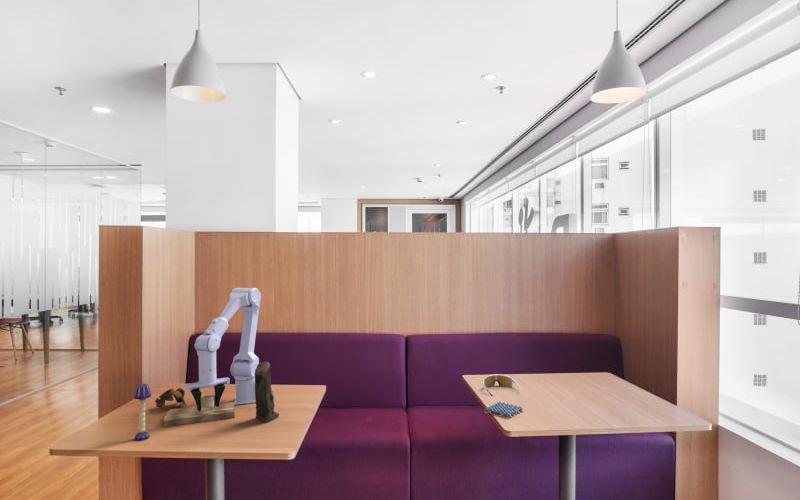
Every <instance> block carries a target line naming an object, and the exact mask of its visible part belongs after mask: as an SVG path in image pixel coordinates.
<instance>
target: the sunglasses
mask: <svg viewBox="0 0 800 500" xmlns="http://www.w3.org/2000/svg"><path fill="white" fill-rule="evenodd" d="M496 382H497V383H498V385H499V386H500V387H508V388H509V387H510V388H512V387H513V384H515V385H516V386H517V387H518V395H517V396H520V392H521V387H520V385H519V384H518V382H517V381H516V380H515V379H514V378H512V377H511V376H509V375H506V374H502V373H501V374H496V373H494V374H489V375H486V376H485V377H484V378H483V379H482V386H483V388H484V389H485V391H487V392H488V394H489V395H491V396H492V397H494V394H493V393H492V392H491V391H490V390H489V389H488V388H490V387H494V386H495V384H496Z"/></svg>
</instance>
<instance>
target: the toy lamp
mask: <svg viewBox="0 0 800 500" xmlns="http://www.w3.org/2000/svg"><path fill="white" fill-rule="evenodd" d="M135 389H136V390H135V393H134V399H135V400H138V401H139V403H138V407H139V408H138V409H139V410H138V412H139V413H138V417H139V419H138V427H139V428H138V432H137V433H136V434H135V435H134V437H133V440H134V441H144V440H147V439H150V437H151V436H150V433H149V432H148V431H146V414H147V413H146V411H147V409H146V401H147V400H146V399H149V398H151V397H152V393H151V390H150V386H149V384H148V383H140V384H138V385H137V386H136V388H135Z"/></svg>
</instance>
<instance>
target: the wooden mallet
mask: <svg viewBox="0 0 800 500" xmlns="http://www.w3.org/2000/svg"><path fill="white" fill-rule="evenodd" d="M212 410H215V394H213V395H212V394H210V395H203V396H201V412H204V411H212Z"/></svg>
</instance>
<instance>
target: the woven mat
mask: <svg viewBox="0 0 800 500" xmlns="http://www.w3.org/2000/svg"><path fill="white" fill-rule="evenodd" d="M523 412H524V409H523V407H522V406H517V404H516V405H513V404H511V403H510V404H509V403H505V402H501V401H498V402H496V403H493V404H491V405H489V406H486V407H485V408H484V412H483V413H485V414H489V415H493V416H496V417H500V418H504V419H508V420H510V419H511V418H514V417H515V416H517V415H518V414H521V413H523Z"/></svg>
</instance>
